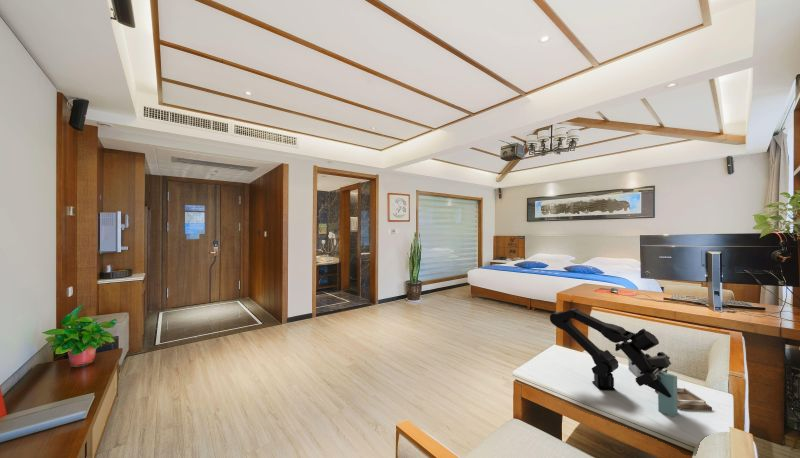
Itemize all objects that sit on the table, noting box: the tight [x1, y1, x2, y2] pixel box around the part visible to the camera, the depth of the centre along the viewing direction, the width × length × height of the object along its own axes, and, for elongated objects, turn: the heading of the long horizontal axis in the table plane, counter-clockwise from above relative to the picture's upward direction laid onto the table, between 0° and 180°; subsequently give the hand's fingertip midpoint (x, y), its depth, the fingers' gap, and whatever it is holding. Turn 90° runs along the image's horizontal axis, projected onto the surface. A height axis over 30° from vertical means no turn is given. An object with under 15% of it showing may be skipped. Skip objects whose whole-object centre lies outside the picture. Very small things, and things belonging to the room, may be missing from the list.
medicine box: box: [627, 358, 641, 377], centre depth 142 cm, size 8×4×9 cm, turn 168°
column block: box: [657, 372, 679, 418], centre depth 114 cm, size 4×4×14 cm
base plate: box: [654, 387, 713, 411], centre depth 120 cm, size 12×12×2 cm
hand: (672, 394), depth 112 cm, fingers closed on column block, 4 cm apart
